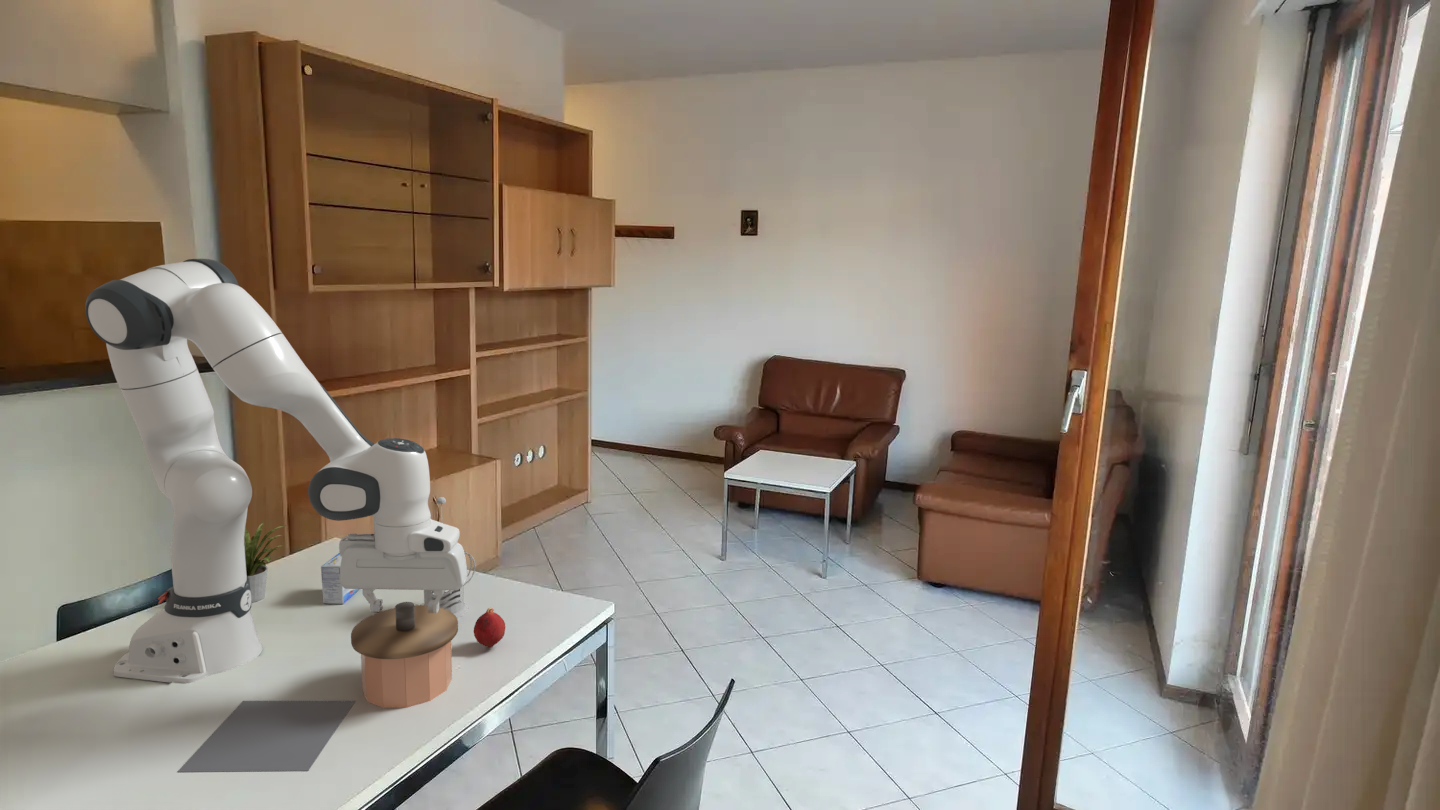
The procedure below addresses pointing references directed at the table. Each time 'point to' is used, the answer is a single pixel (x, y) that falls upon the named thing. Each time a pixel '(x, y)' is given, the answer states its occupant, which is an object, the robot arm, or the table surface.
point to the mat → (269, 737)
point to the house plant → (257, 562)
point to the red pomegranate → (489, 628)
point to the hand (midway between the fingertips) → (405, 611)
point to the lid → (403, 632)
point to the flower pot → (406, 678)
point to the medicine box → (334, 583)
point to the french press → (450, 597)
